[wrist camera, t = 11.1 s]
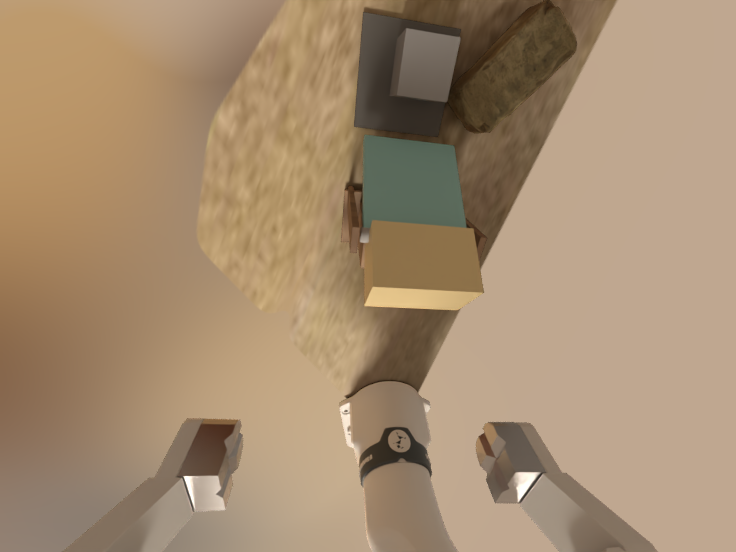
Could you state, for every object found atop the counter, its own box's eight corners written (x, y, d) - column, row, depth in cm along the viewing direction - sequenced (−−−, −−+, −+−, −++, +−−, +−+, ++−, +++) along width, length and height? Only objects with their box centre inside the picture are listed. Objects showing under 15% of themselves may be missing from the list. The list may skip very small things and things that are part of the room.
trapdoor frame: (430, 246, 42) (467, 304, 30) (341, 239, 41) (341, 298, 28) (443, 195, 39) (491, 238, 26) (345, 185, 37) (347, 226, 25)
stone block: (553, 53, 32) (586, 46, 28) (468, 136, 36) (485, 141, 31) (527, 3, 30) (558, -14, 25) (439, 97, 33) (453, 97, 29)
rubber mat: (437, 136, 35) (437, 137, 35) (354, 126, 34) (354, 126, 33) (459, 30, 30) (461, 29, 30) (363, 13, 29) (363, 12, 28)
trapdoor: (464, 310, 28) (492, 293, 23) (356, 305, 27) (363, 286, 22) (445, 165, 35) (463, 130, 30) (359, 155, 34) (365, 117, 29)
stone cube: (446, 102, 29) (432, 102, 33) (460, 37, 26) (443, 46, 30) (396, 95, 28) (389, 96, 32) (406, 28, 25) (396, 38, 30)
